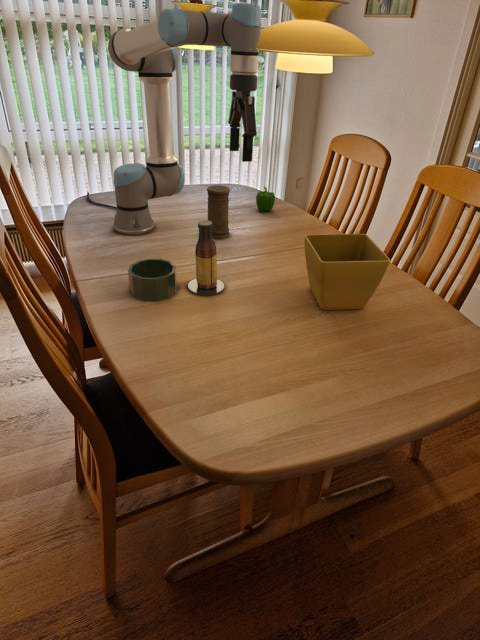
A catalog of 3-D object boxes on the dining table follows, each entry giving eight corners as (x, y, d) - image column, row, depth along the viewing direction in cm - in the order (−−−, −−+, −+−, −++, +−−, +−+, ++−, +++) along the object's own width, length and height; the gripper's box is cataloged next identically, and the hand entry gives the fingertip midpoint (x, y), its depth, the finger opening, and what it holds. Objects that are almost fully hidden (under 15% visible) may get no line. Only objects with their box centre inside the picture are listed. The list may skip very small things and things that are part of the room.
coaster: (180, 289, 131) (180, 287, 131) (200, 275, 139) (200, 273, 139) (211, 299, 127) (211, 297, 127) (230, 284, 135) (230, 283, 135)
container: (229, 239, 165) (230, 192, 156) (205, 238, 165) (205, 190, 155) (229, 231, 173) (231, 185, 163) (207, 230, 173) (207, 183, 163)
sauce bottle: (211, 278, 137) (212, 217, 126) (220, 287, 132) (222, 224, 121) (192, 282, 134) (191, 220, 123) (200, 292, 129) (200, 227, 119)
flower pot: (312, 317, 121) (321, 261, 112) (297, 284, 137) (303, 233, 128) (378, 315, 124) (392, 260, 115) (355, 283, 140) (366, 233, 131)
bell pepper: (273, 214, 192) (275, 191, 187) (254, 212, 193) (255, 189, 187) (274, 208, 199) (276, 186, 194) (256, 206, 200) (258, 184, 195)
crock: (121, 292, 128) (118, 271, 124) (150, 275, 138) (148, 255, 134) (157, 305, 123) (156, 283, 119) (185, 286, 133) (184, 265, 129)
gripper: (272, 78, 109) (266, 165, 121) (244, 70, 129) (240, 146, 141) (243, 77, 107) (239, 166, 119) (219, 70, 128) (218, 147, 139)
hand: (240, 156), depth 130 cm, fingers open, 13 cm apart
